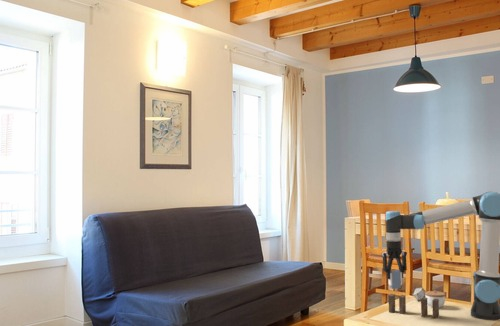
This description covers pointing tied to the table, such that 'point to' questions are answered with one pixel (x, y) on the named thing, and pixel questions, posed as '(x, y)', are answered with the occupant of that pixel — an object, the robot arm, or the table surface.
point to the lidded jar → (435, 297)
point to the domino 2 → (395, 279)
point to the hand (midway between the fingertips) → (395, 284)
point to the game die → (419, 293)
